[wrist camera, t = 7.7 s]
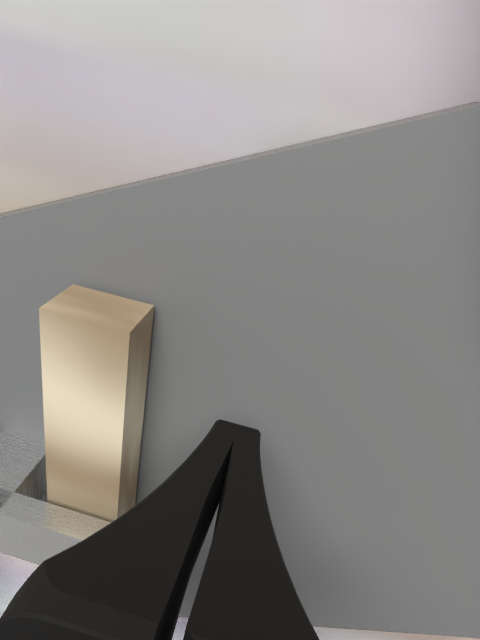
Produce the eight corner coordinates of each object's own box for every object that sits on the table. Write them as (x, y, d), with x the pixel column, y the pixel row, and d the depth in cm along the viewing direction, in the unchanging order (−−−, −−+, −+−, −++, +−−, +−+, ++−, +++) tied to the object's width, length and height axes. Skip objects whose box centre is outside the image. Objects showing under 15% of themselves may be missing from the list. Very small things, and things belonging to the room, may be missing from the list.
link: (135, 592, 23) (107, 660, 21) (64, 569, 24) (27, 632, 21) (168, 308, 15) (128, 357, 12) (59, 280, 16) (-2, 321, 13)
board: (87, 584, 27) (74, 609, 26) (-107, 238, 19) (-141, 249, 17) (485, 605, 21) (495, 639, 20) (476, 101, 12) (492, 103, 11)
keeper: (8, 465, 21) (-53, 534, 18) (4, 428, 20) (-62, 494, 17) (199, 524, 20) (171, 608, 17) (206, 488, 19) (178, 570, 16)
